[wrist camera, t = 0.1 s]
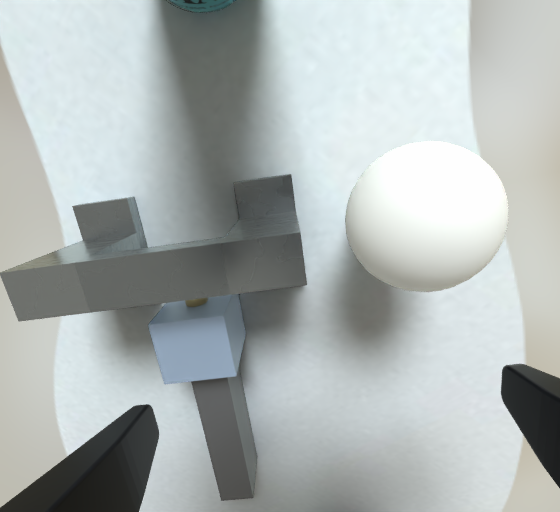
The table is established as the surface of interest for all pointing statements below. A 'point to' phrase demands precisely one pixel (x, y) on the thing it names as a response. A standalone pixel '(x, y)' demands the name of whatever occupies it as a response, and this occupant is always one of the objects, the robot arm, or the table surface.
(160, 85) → the table surface
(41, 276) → the gray arch-shaped bracket
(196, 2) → the beverage bottle
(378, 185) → the lightbulb
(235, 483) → the plug
